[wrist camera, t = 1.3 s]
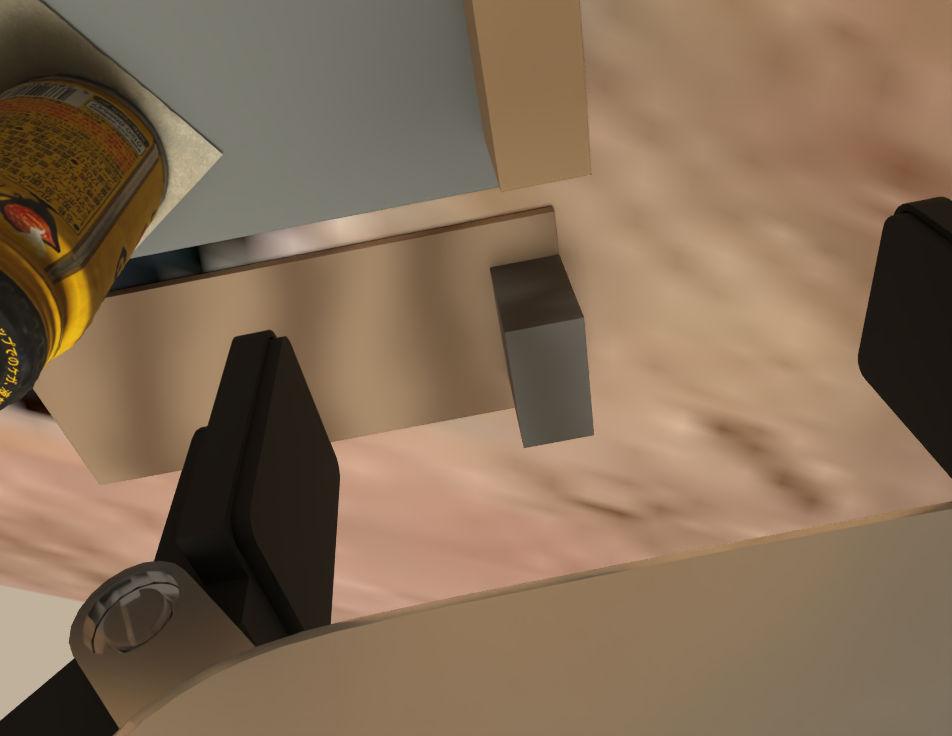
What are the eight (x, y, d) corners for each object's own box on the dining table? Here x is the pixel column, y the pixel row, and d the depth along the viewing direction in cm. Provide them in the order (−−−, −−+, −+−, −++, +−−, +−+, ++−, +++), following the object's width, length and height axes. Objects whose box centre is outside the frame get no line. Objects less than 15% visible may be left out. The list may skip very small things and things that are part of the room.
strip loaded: (537, -128, 23) (571, -118, 19) (564, 169, 29) (595, 229, 25) (-188, 19, 24) (-320, 63, 19) (-14, 281, 30) (-84, 360, 25)
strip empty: (552, 206, 30) (580, 271, 26) (571, 390, 36) (596, 468, 32) (-9, 314, 31) (-75, 396, 26) (103, 478, 37) (64, 566, 32)
